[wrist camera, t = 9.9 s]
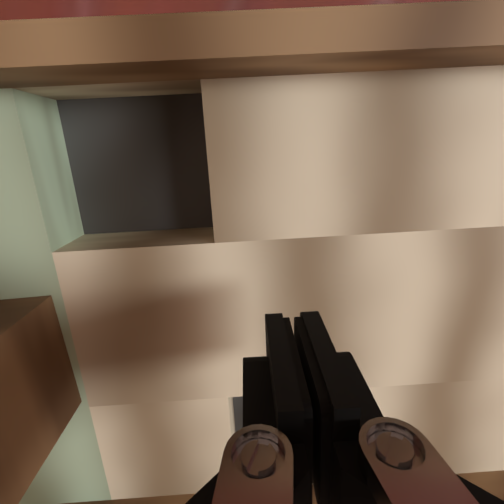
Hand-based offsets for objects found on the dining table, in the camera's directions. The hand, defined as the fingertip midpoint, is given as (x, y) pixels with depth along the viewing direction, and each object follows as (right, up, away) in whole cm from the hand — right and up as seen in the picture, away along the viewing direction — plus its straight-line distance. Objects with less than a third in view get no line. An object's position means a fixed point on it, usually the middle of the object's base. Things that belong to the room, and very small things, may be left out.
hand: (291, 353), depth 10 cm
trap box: (-3, +1, +6) cm, 6 cm away
